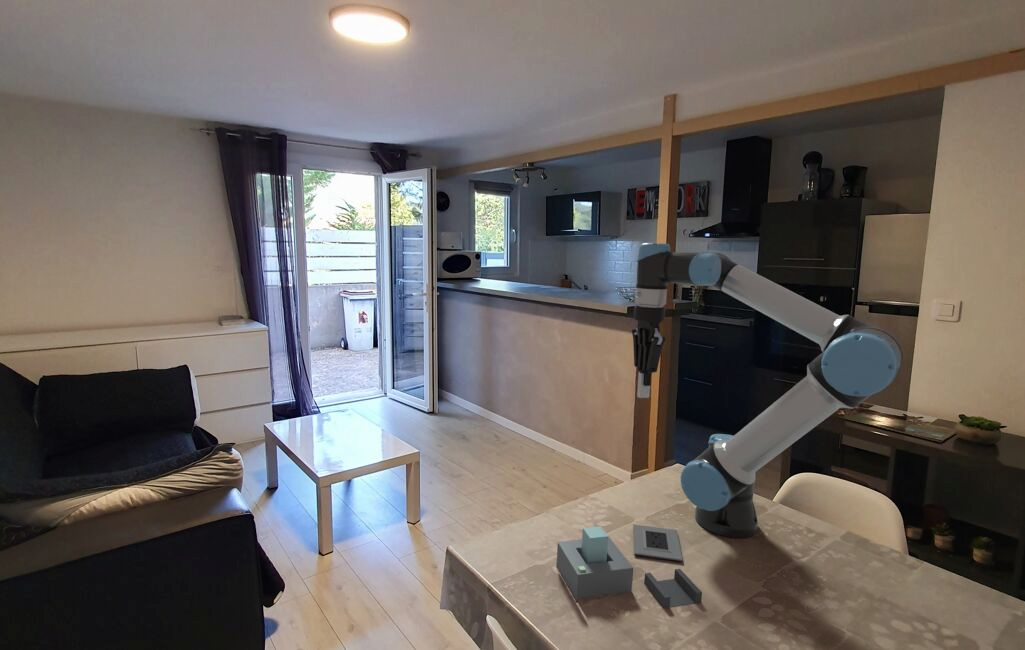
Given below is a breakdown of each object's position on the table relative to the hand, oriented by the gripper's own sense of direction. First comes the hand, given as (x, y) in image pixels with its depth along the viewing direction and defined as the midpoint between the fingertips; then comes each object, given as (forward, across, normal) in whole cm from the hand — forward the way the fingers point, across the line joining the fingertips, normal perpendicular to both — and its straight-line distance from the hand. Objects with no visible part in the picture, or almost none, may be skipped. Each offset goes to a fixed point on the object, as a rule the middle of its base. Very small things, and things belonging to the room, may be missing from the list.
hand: (643, 396), depth 137 cm
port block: (+32, +24, -22) cm, 46 cm away
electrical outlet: (+33, +15, -2) cm, 36 cm away
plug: (+31, +24, -22) cm, 45 cm away
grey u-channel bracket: (+32, +32, -8) cm, 46 cm away
